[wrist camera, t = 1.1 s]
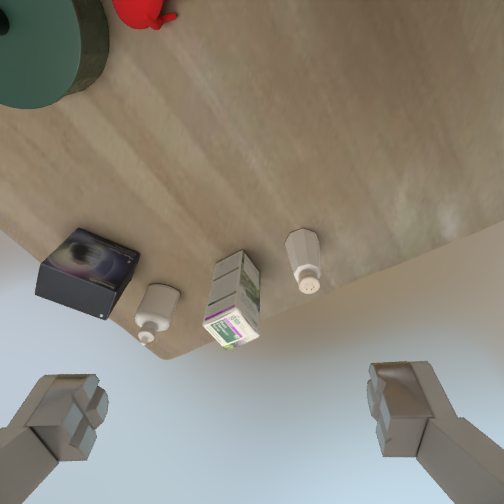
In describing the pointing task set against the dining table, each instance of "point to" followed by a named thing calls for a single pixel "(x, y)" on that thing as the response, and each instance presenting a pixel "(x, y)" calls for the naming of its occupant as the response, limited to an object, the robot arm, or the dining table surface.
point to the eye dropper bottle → (156, 311)
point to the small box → (86, 274)
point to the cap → (142, 13)
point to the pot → (91, 43)
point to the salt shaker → (305, 259)
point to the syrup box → (234, 301)
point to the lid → (38, 51)
